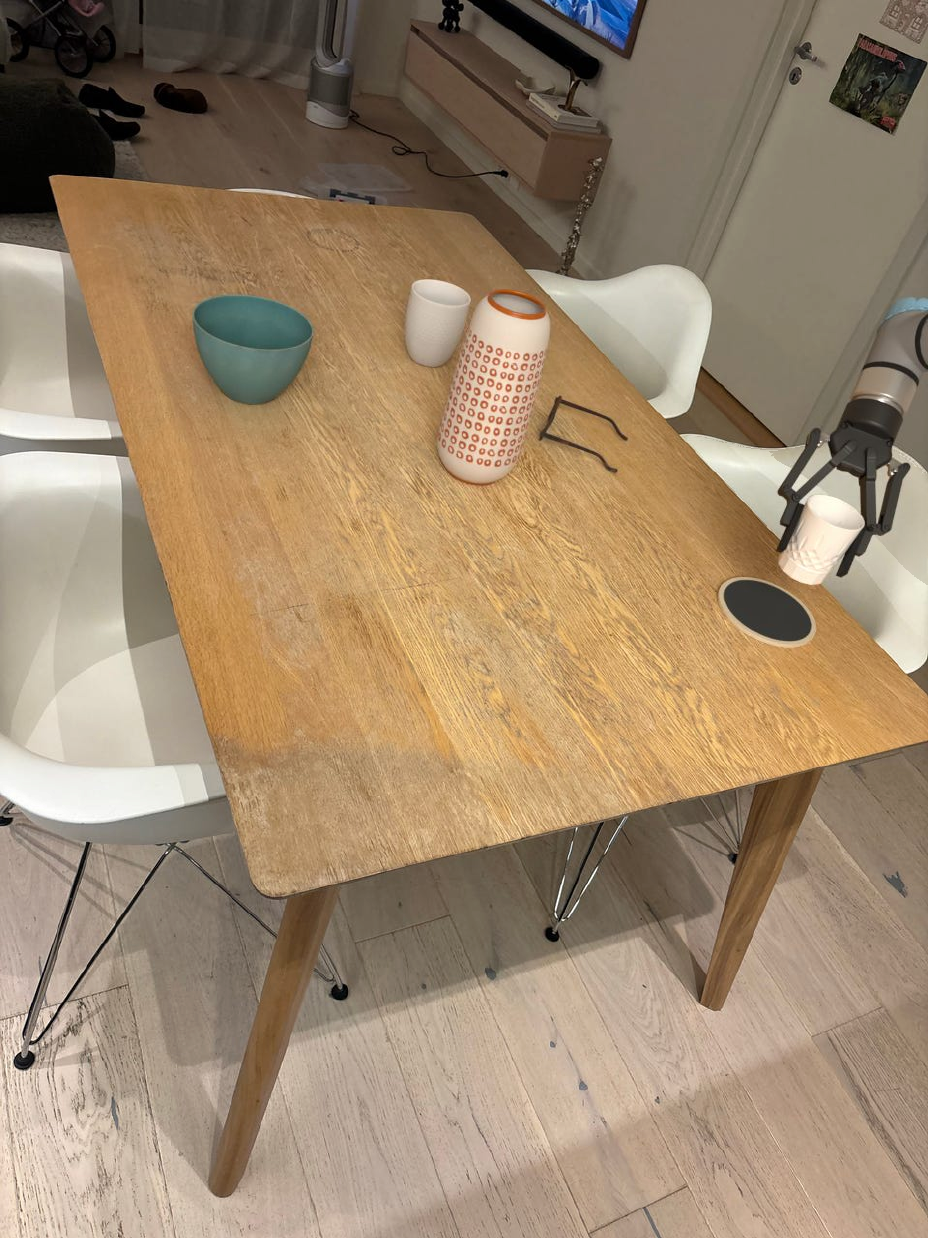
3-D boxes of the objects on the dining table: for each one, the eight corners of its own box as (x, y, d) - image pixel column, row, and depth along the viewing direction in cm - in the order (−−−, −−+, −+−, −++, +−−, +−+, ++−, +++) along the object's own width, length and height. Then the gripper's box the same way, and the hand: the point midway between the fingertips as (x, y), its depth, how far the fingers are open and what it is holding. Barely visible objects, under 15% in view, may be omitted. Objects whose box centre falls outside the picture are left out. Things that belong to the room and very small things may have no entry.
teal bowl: (310, 425, 145) (320, 354, 138) (190, 416, 140) (193, 341, 132) (299, 370, 158) (307, 302, 150) (189, 359, 152) (191, 287, 144)
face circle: (832, 626, 137) (834, 623, 136) (782, 661, 128) (784, 658, 127) (750, 568, 144) (752, 565, 143) (698, 598, 134) (699, 595, 134)
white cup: (839, 581, 127) (876, 523, 120) (805, 594, 123) (841, 534, 116) (796, 547, 131) (830, 489, 125) (762, 558, 127) (795, 499, 120)
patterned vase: (527, 476, 149) (580, 311, 131) (481, 504, 140) (531, 331, 122) (462, 438, 153) (505, 274, 135) (413, 463, 144) (453, 290, 126)
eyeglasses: (551, 411, 168) (558, 387, 165) (627, 438, 167) (637, 414, 164) (534, 447, 157) (543, 421, 154) (617, 475, 156) (627, 450, 153)
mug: (384, 334, 176) (396, 267, 168) (436, 336, 181) (451, 271, 172) (409, 372, 167) (423, 304, 158) (464, 374, 171) (480, 307, 163)
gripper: (938, 447, 126) (876, 597, 124) (795, 392, 129) (732, 538, 127) (962, 428, 119) (896, 588, 117) (810, 371, 121) (743, 526, 120)
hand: (811, 562), depth 122 cm, fingers closed on white cup, 8 cm apart
